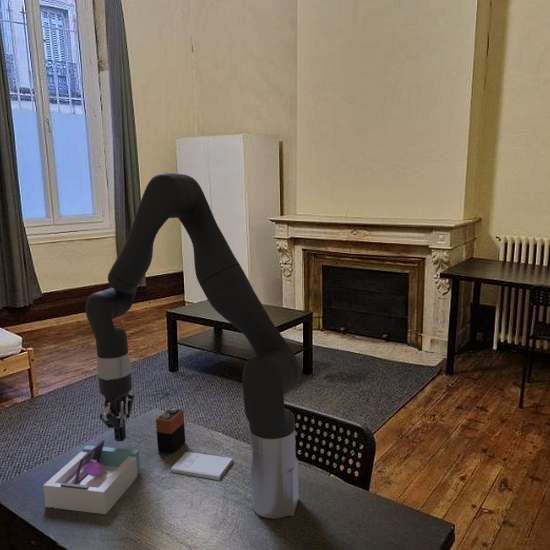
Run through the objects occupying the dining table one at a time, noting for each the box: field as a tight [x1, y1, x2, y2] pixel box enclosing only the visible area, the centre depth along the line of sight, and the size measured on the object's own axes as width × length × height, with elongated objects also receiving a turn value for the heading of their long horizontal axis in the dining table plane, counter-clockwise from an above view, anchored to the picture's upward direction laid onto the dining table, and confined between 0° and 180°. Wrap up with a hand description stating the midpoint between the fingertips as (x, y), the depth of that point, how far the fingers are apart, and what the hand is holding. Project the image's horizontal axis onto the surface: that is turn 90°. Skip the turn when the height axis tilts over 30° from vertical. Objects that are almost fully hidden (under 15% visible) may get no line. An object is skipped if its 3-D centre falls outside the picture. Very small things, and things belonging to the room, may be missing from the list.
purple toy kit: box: [74, 439, 107, 484], centre depth 117 cm, size 7×5×9 cm
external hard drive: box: [170, 451, 234, 481], centre depth 123 cm, size 2×8×12 cm
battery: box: [155, 406, 186, 455], centre depth 132 cm, size 4×7×10 cm, turn 159°
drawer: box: [66, 445, 141, 488], centre depth 116 cm, size 14×14×5 cm
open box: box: [43, 451, 138, 515], centre depth 114 cm, size 14×14×5 cm
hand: (120, 439), depth 126 cm, fingers closed
